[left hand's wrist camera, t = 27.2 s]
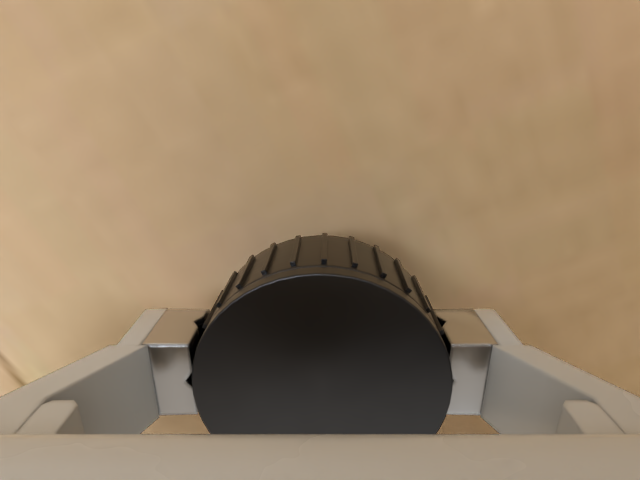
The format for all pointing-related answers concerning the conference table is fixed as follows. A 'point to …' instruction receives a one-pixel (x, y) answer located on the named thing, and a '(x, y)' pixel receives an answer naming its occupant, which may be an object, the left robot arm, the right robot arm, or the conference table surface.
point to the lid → (322, 346)
